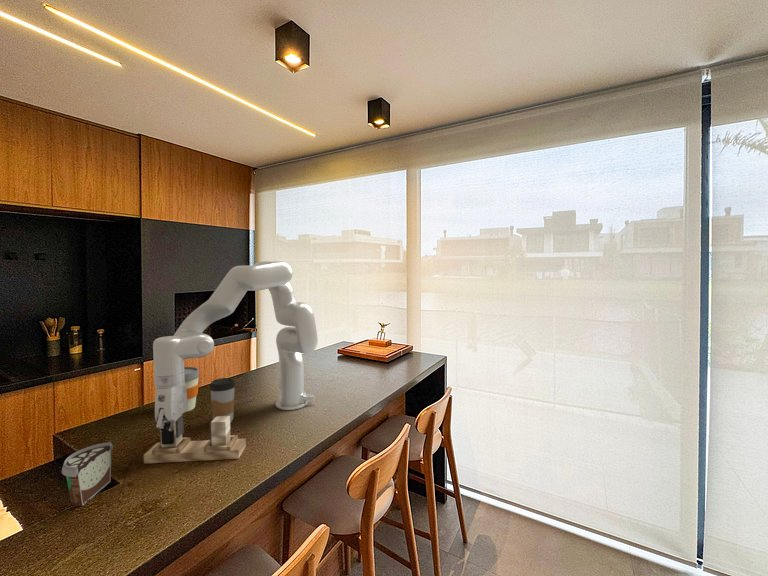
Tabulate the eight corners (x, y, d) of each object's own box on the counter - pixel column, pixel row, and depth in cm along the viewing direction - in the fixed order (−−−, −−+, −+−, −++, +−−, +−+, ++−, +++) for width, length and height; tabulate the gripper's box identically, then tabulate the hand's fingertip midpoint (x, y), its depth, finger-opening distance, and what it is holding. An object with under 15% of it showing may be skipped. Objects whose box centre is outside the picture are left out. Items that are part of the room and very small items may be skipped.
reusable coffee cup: (183, 416, 130) (182, 377, 129) (155, 413, 132) (153, 375, 131) (207, 403, 142) (206, 367, 141) (180, 401, 144) (179, 365, 144)
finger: (184, 439, 105) (183, 413, 104) (178, 446, 101) (177, 419, 100) (168, 440, 104) (167, 414, 104) (161, 447, 100) (160, 420, 100)
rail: (245, 446, 108) (245, 413, 108) (238, 458, 101) (237, 423, 101) (157, 450, 106) (156, 416, 105) (143, 463, 99) (142, 427, 98)
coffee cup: (241, 418, 128) (240, 378, 127) (223, 428, 120) (222, 386, 119) (223, 415, 131) (222, 376, 130) (205, 425, 123) (203, 383, 122)
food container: (89, 479, 91) (87, 442, 91) (114, 478, 92) (112, 441, 91) (48, 512, 79) (46, 469, 79) (77, 510, 80) (75, 468, 79)
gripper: (168, 388, 94) (171, 454, 95) (195, 370, 110) (197, 426, 111) (139, 389, 93) (141, 455, 94) (170, 370, 109) (172, 427, 110)
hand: (172, 439), depth 103 cm, fingers closed on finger, 3 cm apart
